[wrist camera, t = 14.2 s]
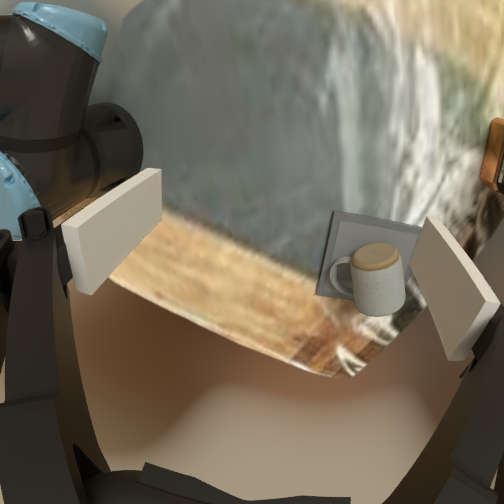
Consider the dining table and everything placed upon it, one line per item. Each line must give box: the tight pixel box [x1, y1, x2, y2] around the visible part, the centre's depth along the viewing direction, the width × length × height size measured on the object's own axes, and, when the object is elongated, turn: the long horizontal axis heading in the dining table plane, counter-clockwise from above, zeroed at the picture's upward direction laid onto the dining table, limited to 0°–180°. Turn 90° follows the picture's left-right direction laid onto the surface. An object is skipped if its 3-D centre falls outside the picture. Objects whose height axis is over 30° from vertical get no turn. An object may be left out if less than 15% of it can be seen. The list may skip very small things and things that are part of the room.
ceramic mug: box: [330, 243, 406, 317], centre depth 40 cm, size 11×8×8 cm
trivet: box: [316, 210, 423, 300], centre depth 44 cm, size 14×14×1 cm
